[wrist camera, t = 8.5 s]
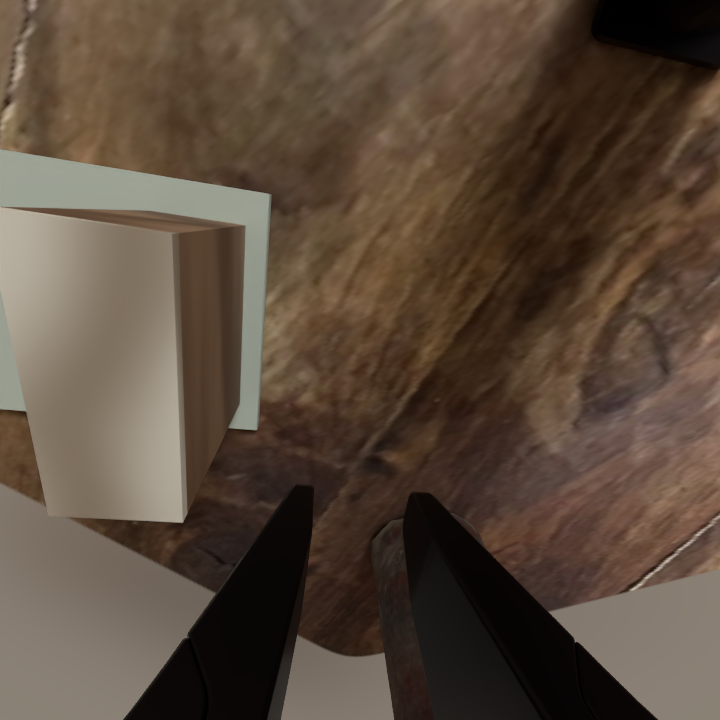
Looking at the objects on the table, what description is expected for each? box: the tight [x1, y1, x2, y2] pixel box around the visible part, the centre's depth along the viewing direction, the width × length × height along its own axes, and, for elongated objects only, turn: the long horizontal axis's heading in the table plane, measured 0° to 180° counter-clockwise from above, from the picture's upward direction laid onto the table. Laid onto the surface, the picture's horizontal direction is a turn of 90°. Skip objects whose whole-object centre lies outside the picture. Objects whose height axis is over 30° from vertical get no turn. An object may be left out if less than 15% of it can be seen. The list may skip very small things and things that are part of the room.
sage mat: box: [0, 149, 271, 430], centre depth 17 cm, size 13×12×1 cm
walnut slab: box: [0, 207, 246, 523], centre depth 14 cm, size 4×9×8 cm, turn 172°
